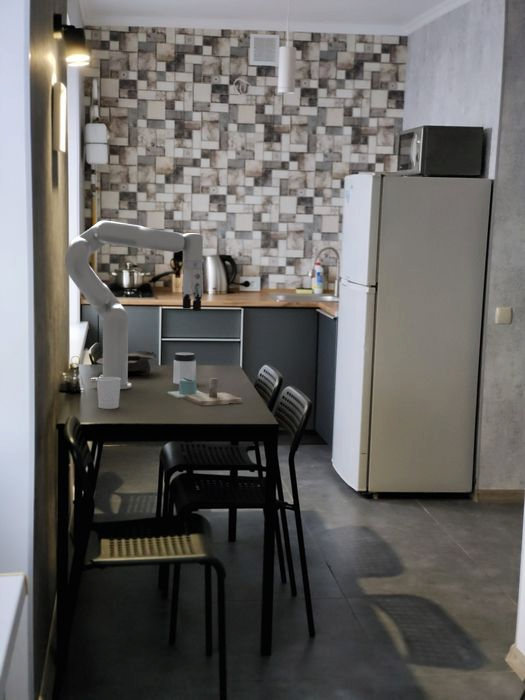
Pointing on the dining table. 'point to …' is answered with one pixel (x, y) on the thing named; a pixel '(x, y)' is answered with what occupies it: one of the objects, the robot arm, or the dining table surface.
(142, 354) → the stone bowl
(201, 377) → the dining table surface
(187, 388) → the cap
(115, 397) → the white cup
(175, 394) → the mat
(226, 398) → the post base
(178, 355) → the jar
